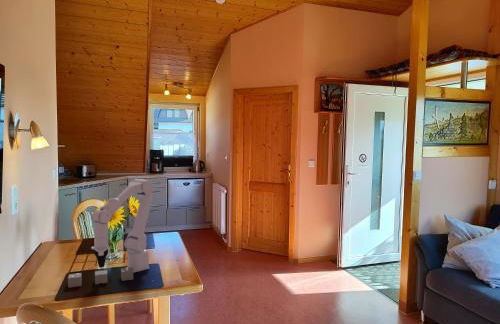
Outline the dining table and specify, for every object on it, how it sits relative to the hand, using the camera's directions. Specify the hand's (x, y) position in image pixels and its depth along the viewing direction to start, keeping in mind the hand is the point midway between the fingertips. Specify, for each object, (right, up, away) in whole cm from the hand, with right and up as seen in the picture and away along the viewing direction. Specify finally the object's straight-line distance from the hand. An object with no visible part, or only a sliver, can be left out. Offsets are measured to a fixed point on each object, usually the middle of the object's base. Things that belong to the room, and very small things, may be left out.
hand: (101, 266), depth 161 cm
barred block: (+10, -6, +5) cm, 13 cm away
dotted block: (-10, -7, -4) cm, 13 cm away
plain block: (0, -7, 0) cm, 7 cm away
